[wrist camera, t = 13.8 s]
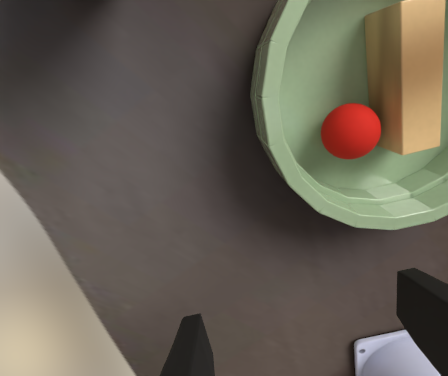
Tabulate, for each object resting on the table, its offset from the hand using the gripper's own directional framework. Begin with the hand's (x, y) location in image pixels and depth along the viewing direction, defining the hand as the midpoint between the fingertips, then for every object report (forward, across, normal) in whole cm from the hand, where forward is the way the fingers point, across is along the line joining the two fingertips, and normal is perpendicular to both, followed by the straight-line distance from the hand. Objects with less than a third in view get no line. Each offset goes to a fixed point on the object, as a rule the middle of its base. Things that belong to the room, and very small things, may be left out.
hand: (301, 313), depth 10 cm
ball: (+7, -6, -4) cm, 10 cm away
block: (+9, -8, -6) cm, 14 cm away
